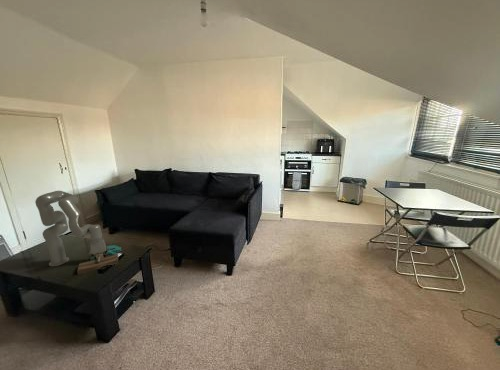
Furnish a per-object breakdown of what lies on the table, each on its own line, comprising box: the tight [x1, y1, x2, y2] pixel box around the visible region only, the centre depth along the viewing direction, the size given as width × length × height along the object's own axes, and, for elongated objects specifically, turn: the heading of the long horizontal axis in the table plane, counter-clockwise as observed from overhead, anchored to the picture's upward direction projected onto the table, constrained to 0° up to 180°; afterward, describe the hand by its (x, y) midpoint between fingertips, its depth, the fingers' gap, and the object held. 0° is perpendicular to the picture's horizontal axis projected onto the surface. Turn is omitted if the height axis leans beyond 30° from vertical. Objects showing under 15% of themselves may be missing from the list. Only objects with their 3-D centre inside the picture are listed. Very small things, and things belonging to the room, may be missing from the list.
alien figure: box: [89, 244, 122, 261], centre depth 190 cm, size 20×2×20 cm
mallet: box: [95, 252, 104, 263], centre depth 173 cm, size 14×5×7 cm, turn 31°
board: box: [76, 254, 119, 275], centre depth 170 cm, size 12×26×3 cm, turn 122°
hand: (100, 259), depth 178 cm, fingers closed on mallet, 5 cm apart
